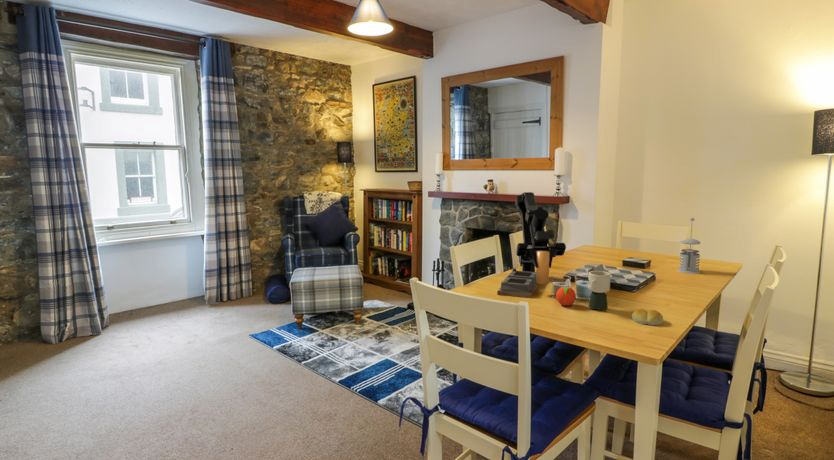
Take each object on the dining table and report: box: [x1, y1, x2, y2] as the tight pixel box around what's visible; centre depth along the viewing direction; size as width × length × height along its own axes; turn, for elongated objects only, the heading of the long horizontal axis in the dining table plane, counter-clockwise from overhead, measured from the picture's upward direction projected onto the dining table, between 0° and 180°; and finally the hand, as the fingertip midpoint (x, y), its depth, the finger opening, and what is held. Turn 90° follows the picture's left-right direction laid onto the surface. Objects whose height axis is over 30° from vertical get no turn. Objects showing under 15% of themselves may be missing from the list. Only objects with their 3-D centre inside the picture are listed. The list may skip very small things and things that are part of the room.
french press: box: [676, 217, 702, 275], centre depth 213 cm, size 10×12×25 cm
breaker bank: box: [496, 268, 540, 299], centre depth 193 cm, size 25×13×6 cm, turn 157°
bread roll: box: [631, 308, 664, 326], centre depth 150 cm, size 8×9×4 cm
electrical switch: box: [587, 263, 605, 275], centre depth 192 cm, size 9×5×9 cm, turn 141°
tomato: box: [555, 285, 577, 307], centre depth 168 cm, size 8×7×7 cm
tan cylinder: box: [535, 251, 550, 285], centre depth 182 cm, size 5×5×12 cm
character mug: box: [587, 270, 611, 311], centre depth 163 cm, size 11×7×13 cm, turn 134°
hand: (543, 267), depth 181 cm, fingers closed on tan cylinder, 5 cm apart
